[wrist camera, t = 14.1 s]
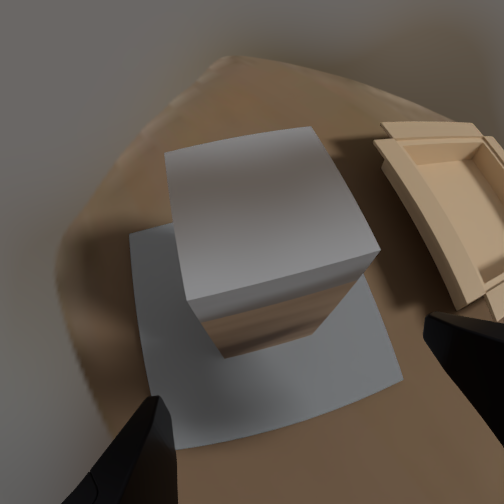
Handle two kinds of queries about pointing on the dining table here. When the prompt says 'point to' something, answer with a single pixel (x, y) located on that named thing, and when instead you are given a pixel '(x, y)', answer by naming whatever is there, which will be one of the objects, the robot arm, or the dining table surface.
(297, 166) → the grey rectangular block
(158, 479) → the robot arm
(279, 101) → the dining table surface
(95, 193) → the dining table surface
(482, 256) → the carton
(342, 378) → the rubber mat
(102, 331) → the dining table surface
